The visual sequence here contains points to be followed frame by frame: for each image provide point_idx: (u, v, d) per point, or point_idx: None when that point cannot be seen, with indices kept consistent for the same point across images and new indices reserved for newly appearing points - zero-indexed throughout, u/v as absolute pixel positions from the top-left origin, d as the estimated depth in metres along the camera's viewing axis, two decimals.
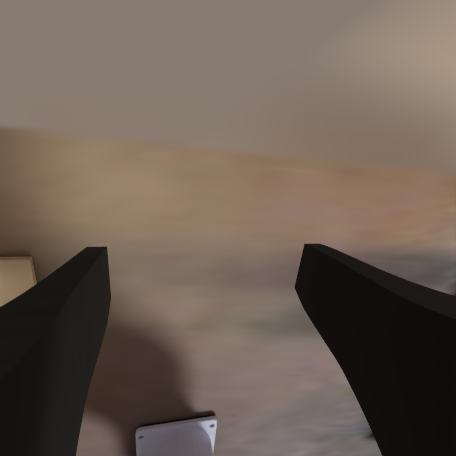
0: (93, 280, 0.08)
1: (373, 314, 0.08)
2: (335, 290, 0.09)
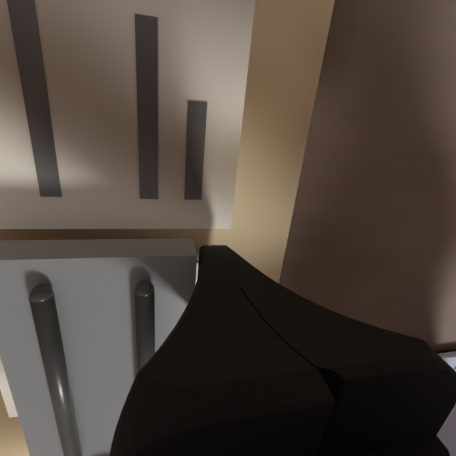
0: None
1: None
2: None
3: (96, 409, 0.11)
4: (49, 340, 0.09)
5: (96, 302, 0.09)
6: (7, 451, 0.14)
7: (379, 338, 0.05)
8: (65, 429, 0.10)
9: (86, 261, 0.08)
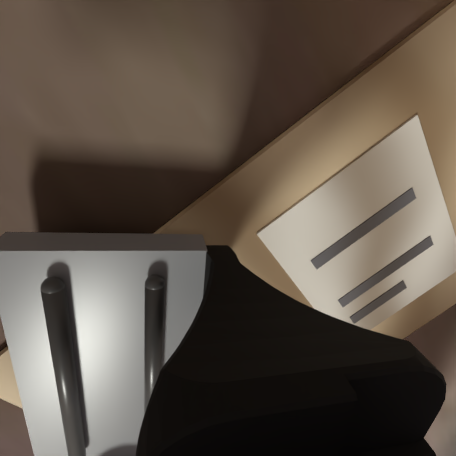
0: None
1: None
2: None
3: (101, 404, 0.11)
4: (59, 332, 0.09)
5: (106, 295, 0.09)
6: None
7: (365, 339, 0.05)
8: (70, 423, 0.10)
9: (98, 254, 0.09)
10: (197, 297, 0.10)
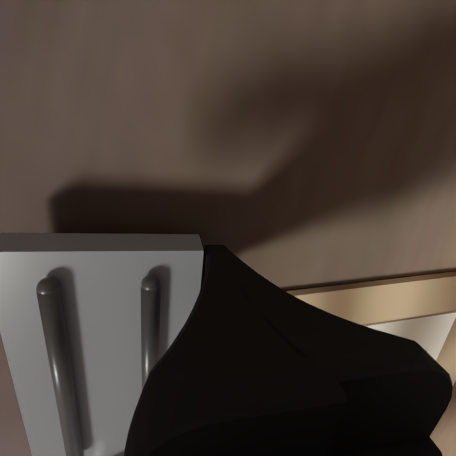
0: None
1: None
2: None
3: (98, 404, 0.11)
4: (55, 333, 0.09)
5: (102, 296, 0.09)
6: None
7: (371, 339, 0.05)
8: (67, 424, 0.10)
9: (93, 254, 0.08)
10: (194, 297, 0.10)
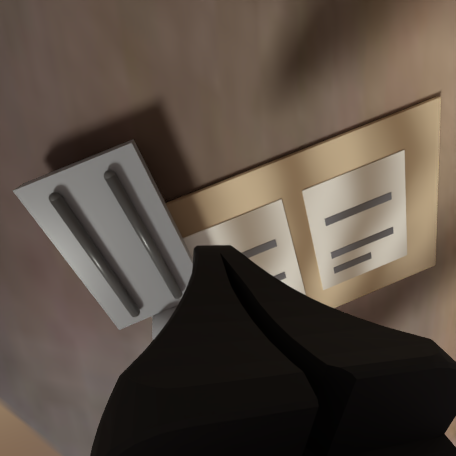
0: None
1: None
2: None
3: (130, 273, 0.17)
4: (73, 224, 0.14)
5: (90, 196, 0.15)
6: None
7: (387, 337, 0.05)
8: (114, 285, 0.16)
9: (70, 170, 0.14)
10: (145, 178, 0.15)
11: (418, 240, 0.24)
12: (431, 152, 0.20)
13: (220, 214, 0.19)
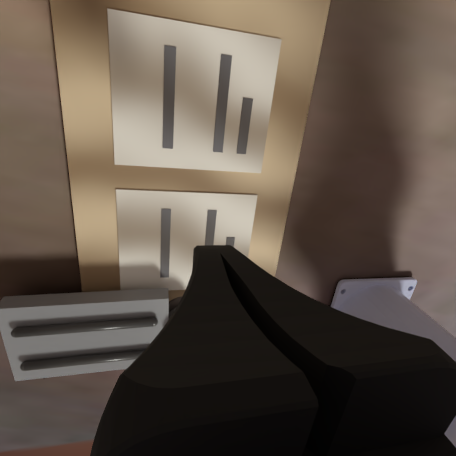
0: None
1: None
2: None
3: (116, 342, 0.20)
4: (49, 365, 0.19)
5: (34, 345, 0.19)
6: None
7: (388, 337, 0.05)
8: (116, 359, 0.20)
9: (8, 349, 0.18)
10: (29, 309, 0.18)
11: (269, 12, 0.16)
12: None
13: (109, 249, 0.19)
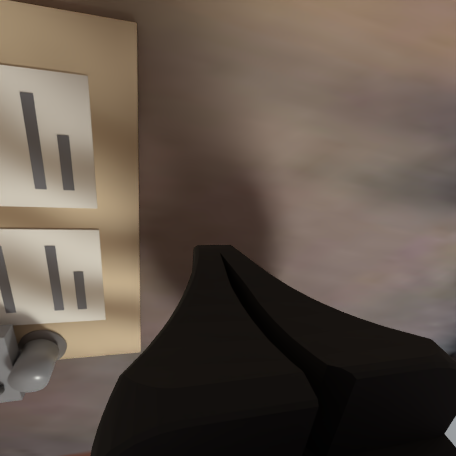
0: None
1: None
2: None
3: None
4: None
5: None
6: None
7: (387, 337, 0.05)
8: None
9: None
10: None
11: (66, 48, 0.15)
12: None
13: None
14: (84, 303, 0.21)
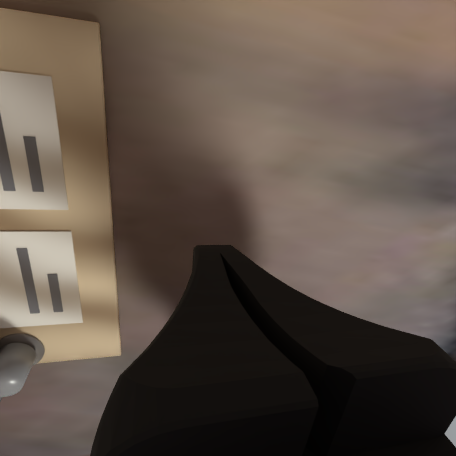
0: None
1: None
2: None
3: None
4: None
5: None
6: None
7: (387, 337, 0.05)
8: None
9: None
10: None
11: (28, 49, 0.15)
12: None
13: None
14: (60, 305, 0.21)
